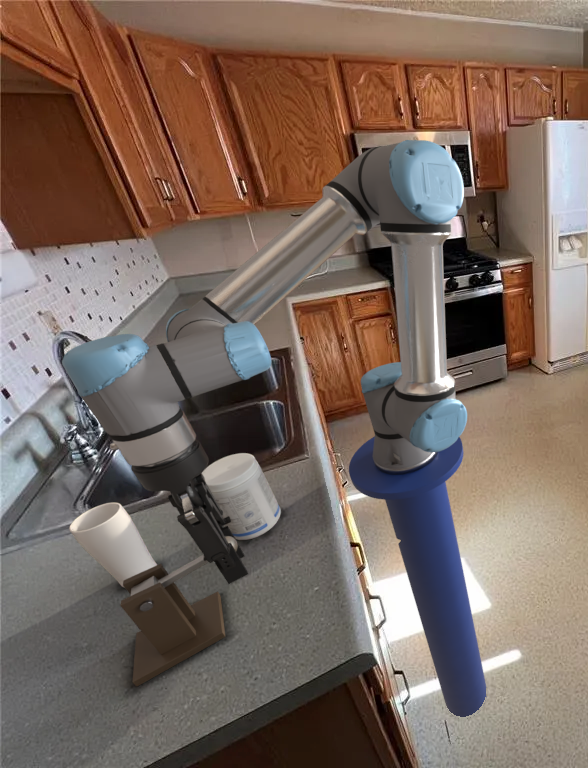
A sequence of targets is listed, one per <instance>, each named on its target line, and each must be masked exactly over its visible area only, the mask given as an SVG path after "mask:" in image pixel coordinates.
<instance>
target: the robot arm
mask: <svg viewBox="0 0 588 768" xmlns="http://www.w3.org/2000/svg"><path fill="white" fill-rule="evenodd" d="M321 192H322V193H321V194H322V196H321V198H320V199H318V201H316V202H315V203H314V204H313V205H311V206H310V207H309V208H308V209H307V210H306V211H304V212H303V213H302V214H300V216H298V217H297V218H296V219H295V220H294V221H292V222H291V223H289V225H288V226H286V227H285V228H283V230H282V231H281V232H279V233H278V234H277V235H276V236H275V237H274V238H272V239H271V240H270V241H268V242H267V243H266V244H265V245H264V246H263V247H261V248H260V249H259V250H258V251H257V252H256V253H254V254H253V255H252V256H251V257H250V258H249V259H247V260H246V261H245V262H244V263H242V264H241V265H240V266H239V267H238V268H236V269H235V270H234V271H233V272H232V273H230V274H229V275H228V276H227V277H225V279H223V280H222V281H221V282H220V283H219V284H218V285H216V286H215V287H214V288H213V289H211V290H210V291H209V292H208V293H207V294H206V295H205V296H204V297H202V298H201V299H200V300H199V301H197V302H196V303H194V305H192V306H191V307H190V308H185V309H181V310H179V311H177V312H175V313H173V314H172V315H171V316H170V317H169V319H168V320H167V323H166V325H165V336H166V337H165V338H166V341H167V342H162V343H158V344H152V345H148V343H146V342H145V341H144V340H143V338H142V337H141V336H139V335H137V334H133V333H121V334H117V335H113V336H109V335H108V336H105V337H100V338H97V339H93V340H90V341H87V342H83V343H81V344H79V345H76V346H74V347H73V348H71V349H69V350H68V351H67V352H66V353H65V354H64V355H63V358H62V360H61V364H62V365H61V366H62V367H63V368H64V370H65V372H66V373H67V375H68V377H69V379H70V380H71V381H72V383H73V385H74V387H75V389H76V390H77V394H78V396H79V397H80V398H81V399H82V400H83V402H84V404H86V406H87V407H88V409H89V410H90V411H91V413H92V414H93V416H94V417H95V419H96V420H97V421H98V423H99V424H100V425H101V427H102V428H103V430H104V431H105V433H106V434H107V435H108V437H109V438H110V439H111V441H112V443H110V444H109V449H110V450H111V451H117V450H118V451H120V454H121V455H122V457H123V459H124V460H125V461H126V463H127V464H128V465H130V466H131V469H130V470H131V471H132V473H133V474H134V476H135V477H136V479H137V480H138V482H139V483H140V485H141V486H142V487H143V488H144V489H145V490H147V491H149V492H170V494H169V495H167V498H168V500H169V502H170V504H171V506H172V507H173V508H176V510H177V511H178V513H179V514H178V515H177V517H176V518H177V519H176V520H177V522H178V523H179V524H180V525H181V526H182V527H183V528H184V529H185V530H186V532H187V533H188V535H190V537H191V538H192V540H193V541H194V543H195V545H196V546H197V548H198V549H199V551H200V552H201V553H202V555H204V557H203V558H204V559H203V560H204V561H206V560H207V561H208V563H209V564H212V563H214V564H215V566H216V567H217V569H218V571H219V572H220V573H221V575H222V577H223V578H224V580H225V582H226V583H227V584H228V585H230V584H233V583H234V582H236V581H238V580H240V579H242V578H244V577H246V576H248V575H249V571H248V569H247V567H246V565H245V564H244V562H243V561H242V558H245V557H246V556H245V553H244V551H243V549H242V547H241V546H240V544H239V543H238V541H237V539H235V537H234V535H233V534H232V532H231V530H230V529H229V527H228V526H226V527H225V526H224V525H226V524H228V523H230V522H231V519H230V517H229V516H228V517H226V518H223V516H222V515H223V510H221V508H220V506H219V505H218V503H217V501H216V499H215V498H214V496H213V494H212V492H211V491H210V489H209V487H208V485H207V483H206V482H205V478H204V476H203V475H202V472H203V471H204V470H205V469H206V468H207V467H208V466H209V461H210V459H209V456H208V454H207V453H206V451H205V448H204V446H203V445H202V443H201V441H200V440H199V439H197V434H196V431H195V430H194V428H193V426H192V424H191V423H190V421H189V419H188V417H187V416H186V414H185V411H184V410H182V408H181V406H180V404H179V402H181V401H185V400H188V399H192V398H194V397H196V396H199V395H202V394H206V393H208V392H211V391H214V390H217V389H220V388H223V387H226V386H229V385H232V384H234V383H239V382H241V381H246V380H250V379H251V378H252V377H254V376H257V375H259V374H262V373H264V372H267V371H268V370H269V369H270V368H271V367H272V357H271V356H272V355H271V353H270V350H269V348H268V346H267V344H266V340H265V339H264V337H263V336H262V334H261V332H260V330H259V328H258V327H257V326H256V324H257V323H258V322H259V321H261V320H262V319H263V318H264V317H265V316H266V315H267V314H268V313H270V312H271V311H272V310H273V309H274V308H276V306H277V305H279V303H281V302H282V301H283V300H284V299H285V298H286V297H287V296H289V295H290V294H291V293H292V292H293V291H294V290H295V289H296V288H298V286H300V285H301V284H302V283H303V282H304V281H305V280H307V278H308V277H310V276H311V275H312V274H313V273H314V272H315V271H316V270H317V269H319V268H320V267H321V266H322V265H323V264H324V263H325V262H326V261H328V260H329V259H330V258H331V257H332V256H333V255H334V254H335V253H336V252H337V251H339V250H340V248H342V247H343V246H344V245H345V244H347V242H348V241H350V240H351V239H352V238H353V237H354V236H356V235H359V236H365V234H367V233H368V232H369V231H371V229H373V228H374V227H376V226H377V225H379V226H380V233H381V235H382V236H383V237H384V238H386V239H387V240H388V242H389V243H390V246H391V258H392V270H393V272H392V273H393V283H394V293H395V294H394V295H395V310H396V319H397V320H396V321H397V334H398V345H399V358H400V361H399V362H398V361H396V362H390V363H385V364H382V365H379V366H376V367H374V368H372V369H370V370H368V371H367V372H365V373H364V374H363V375H362V376H361V378H360V386H361V393H362V394H363V399H364V402H365V406H366V410H367V412H368V416H369V419H370V423H371V426H372V429H373V432H374V436H375V438H374V448H373V460H374V463H375V466H376V468H377V469H378V470H379V471H381V472H383V473H386V474H390V475H403V474H408V473H412V472H415V471H418V470H420V469H422V468H424V467H425V466H427V465H428V464H430V463H431V462H432V461H433V460H434V459H435V457H436V456H437V454H438V452H439V451H442V450H444V449H446V448H448V447H450V446H451V445H452V444H453V443H455V442H456V441H457V439H458V437H461V436H462V434H463V432H464V431H465V429H466V425H467V422H468V411H467V408H466V406H465V405H464V404H463V402H462V401H460V399H457V398H456V380H455V378H454V377H453V376H452V375H451V374H450V373H448V363H447V362H448V361H447V339H446V338H447V334H446V307H445V305H446V304H445V278H444V277H445V276H444V275H445V274H444V250H443V249H444V248H443V246H444V243H445V242H446V240H448V238H449V237H450V236H451V235H452V220H453V219H454V218H455V217H456V216H457V215H458V211H459V210H460V209H461V208H462V205H463V203H464V196H465V186H464V179H463V176H462V173H461V169H460V168H459V165H458V163H457V162H456V160H455V159H454V158H452V156H451V155H450V152H448V150H446V149H445V148H444V147H443V146H441V145H440V144H439V143H436V142H434V141H431V140H425V139H424V140H423V139H419V140H418V139H417V140H416V139H414V140H413V139H405V140H403V141H400V142H397V143H392V144H387V145H379V146H375V147H371V148H369V149H368V150H365V151H364V152H362V153H361V154H359V155H358V156H357V157H356V158H355V159H354V160H353V161H352V162H350V163H349V164H347V165H346V167H345V168H344V169H342V170H341V171H340V172H339V173H338V174H337V175H336V176H335V177H334V178H332V179H331V180H330V181H329V182H327V184H325V185H324V186H323V187H322V189H321ZM225 536H230V537H233V538H234V539H235V540H236V541H237V544H238V548H237V551H235V549H234V547H233V546H232V544H231V543H228V542H227V540H226V538H225Z"/></svg>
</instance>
